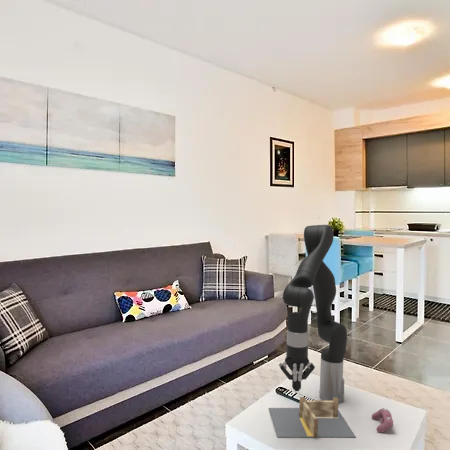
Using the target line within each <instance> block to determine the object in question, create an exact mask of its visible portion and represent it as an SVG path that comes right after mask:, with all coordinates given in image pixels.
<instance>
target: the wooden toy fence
mask: <svg viewBox="0 0 450 450" xmlns="http://www.w3.org/2000/svg"><path fill="white" fill-rule="evenodd" d="M303 402H306V404H307V405H308V407H309V408H310V410H311V411H312V412H313V414H314V415H315V417H334V418H337V417H338V410H339V403H338V398H337V397H334V398H333V401H322V400H306V397H305V396H301V397H299V404H298V405H299V407H298V408H299V417H300V418H302V410H303Z"/></svg>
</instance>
